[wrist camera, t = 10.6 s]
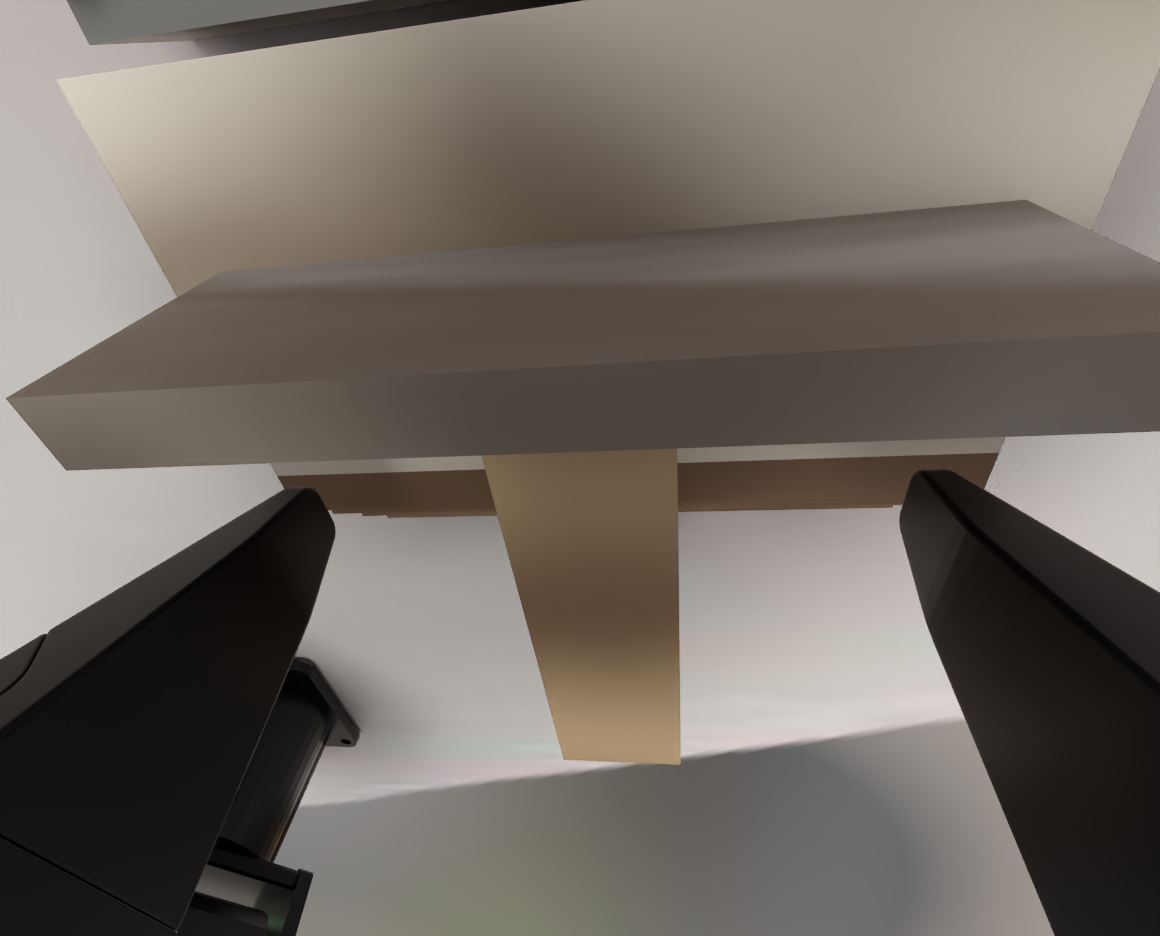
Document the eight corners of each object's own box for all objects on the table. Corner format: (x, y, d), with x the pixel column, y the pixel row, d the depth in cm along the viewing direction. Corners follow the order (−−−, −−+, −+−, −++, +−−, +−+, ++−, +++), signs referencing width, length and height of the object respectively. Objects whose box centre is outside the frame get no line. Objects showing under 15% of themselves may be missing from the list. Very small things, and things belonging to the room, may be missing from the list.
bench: (880, 482, 16) (938, 598, 12) (399, 495, 18) (345, 598, 14) (1024, -56, 9) (1228, -97, 6) (224, 62, 11) (56, 80, 8)
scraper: (874, 645, 14) (942, 830, 11) (403, 639, 15) (341, 797, 12) (1025, 199, 8) (1291, 323, 4) (220, 271, 9) (5, 398, 6)
